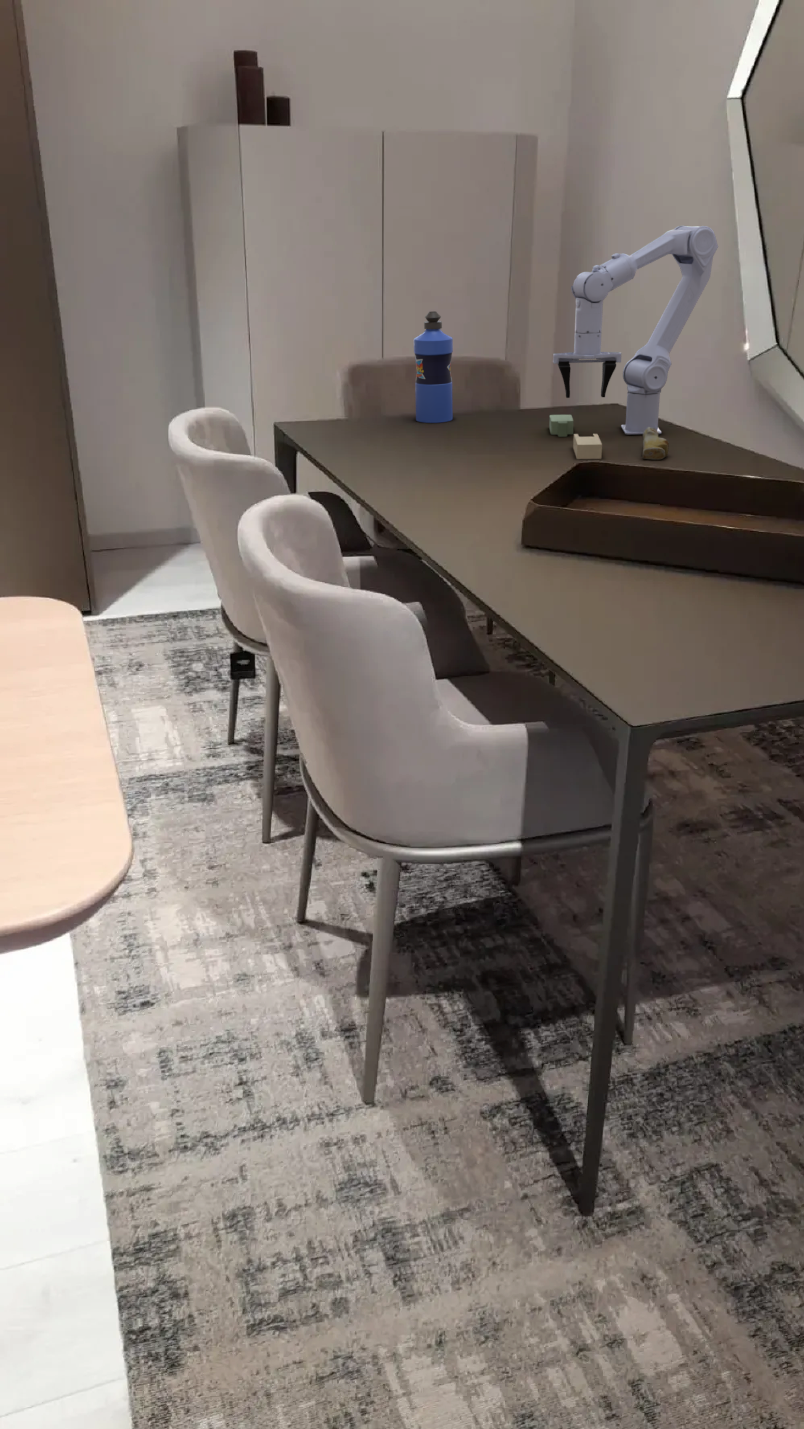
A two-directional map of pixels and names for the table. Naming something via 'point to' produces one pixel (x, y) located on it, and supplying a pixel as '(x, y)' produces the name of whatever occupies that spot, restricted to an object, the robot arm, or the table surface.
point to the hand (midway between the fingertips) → (585, 397)
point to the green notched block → (561, 425)
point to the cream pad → (587, 447)
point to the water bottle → (433, 372)
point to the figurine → (654, 445)
